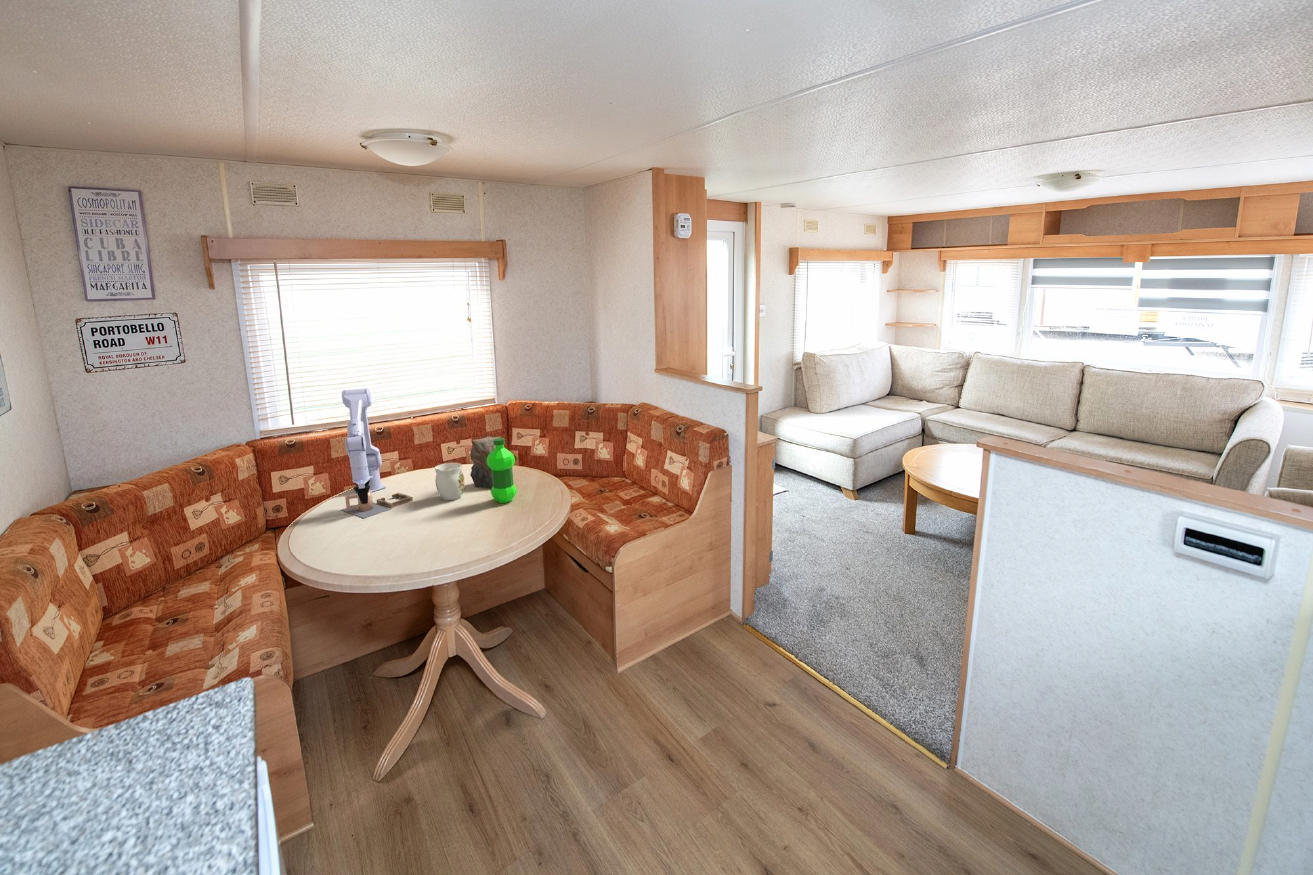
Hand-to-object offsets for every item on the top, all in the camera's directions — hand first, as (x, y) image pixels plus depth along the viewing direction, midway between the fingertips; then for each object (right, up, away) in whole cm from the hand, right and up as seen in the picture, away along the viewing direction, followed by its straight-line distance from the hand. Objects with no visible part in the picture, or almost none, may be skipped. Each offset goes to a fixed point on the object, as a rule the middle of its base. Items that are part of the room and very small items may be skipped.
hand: (364, 500), depth 235 cm
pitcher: (+30, 0, +13) cm, 32 cm away
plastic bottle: (+52, -1, +6) cm, 53 cm away
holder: (+8, -1, +8) cm, 12 cm away
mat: (0, -3, +1) cm, 4 cm away
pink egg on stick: (-2, -3, 0) cm, 4 cm away
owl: (+42, +4, +26) cm, 49 cm away
